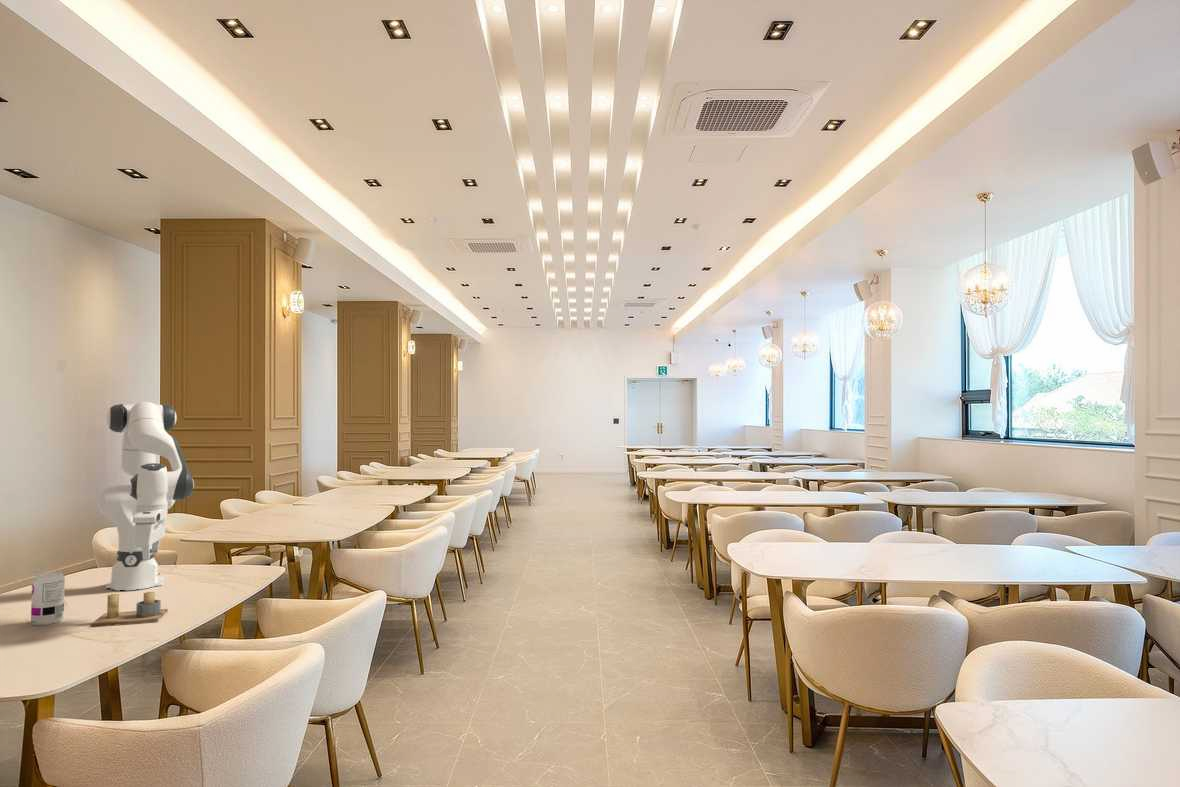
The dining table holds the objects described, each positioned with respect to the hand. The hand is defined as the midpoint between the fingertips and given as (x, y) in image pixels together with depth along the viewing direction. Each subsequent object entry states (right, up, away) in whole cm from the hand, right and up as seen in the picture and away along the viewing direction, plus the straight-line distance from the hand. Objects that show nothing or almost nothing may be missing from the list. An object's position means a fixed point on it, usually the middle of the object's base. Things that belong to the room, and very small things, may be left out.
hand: (150, 556), depth 229 cm
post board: (-4, -20, -3) cm, 20 cm away
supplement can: (-28, -19, -7) cm, 35 cm away
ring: (0, -19, -2) cm, 19 cm away
